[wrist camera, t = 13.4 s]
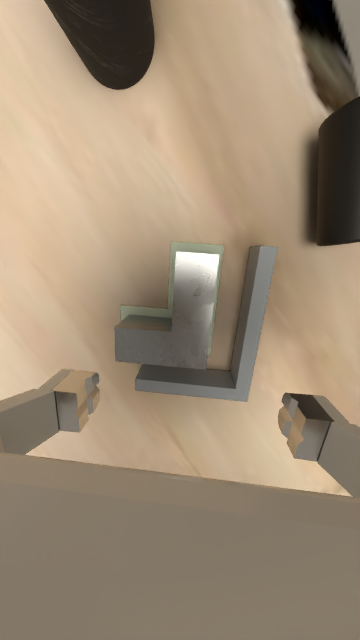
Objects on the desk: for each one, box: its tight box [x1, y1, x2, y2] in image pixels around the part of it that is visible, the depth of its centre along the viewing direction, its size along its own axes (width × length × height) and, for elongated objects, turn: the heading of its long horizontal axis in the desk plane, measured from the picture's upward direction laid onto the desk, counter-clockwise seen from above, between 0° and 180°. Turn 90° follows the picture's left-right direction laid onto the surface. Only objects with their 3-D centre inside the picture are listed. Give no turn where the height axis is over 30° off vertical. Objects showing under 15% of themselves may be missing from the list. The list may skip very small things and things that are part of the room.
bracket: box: [115, 252, 219, 370], centre depth 24 cm, size 10×12×5 cm
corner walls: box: [135, 246, 278, 402], centre depth 25 cm, size 18×14×4 cm
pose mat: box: [120, 242, 224, 357], centre depth 26 cm, size 14×12×1 cm
